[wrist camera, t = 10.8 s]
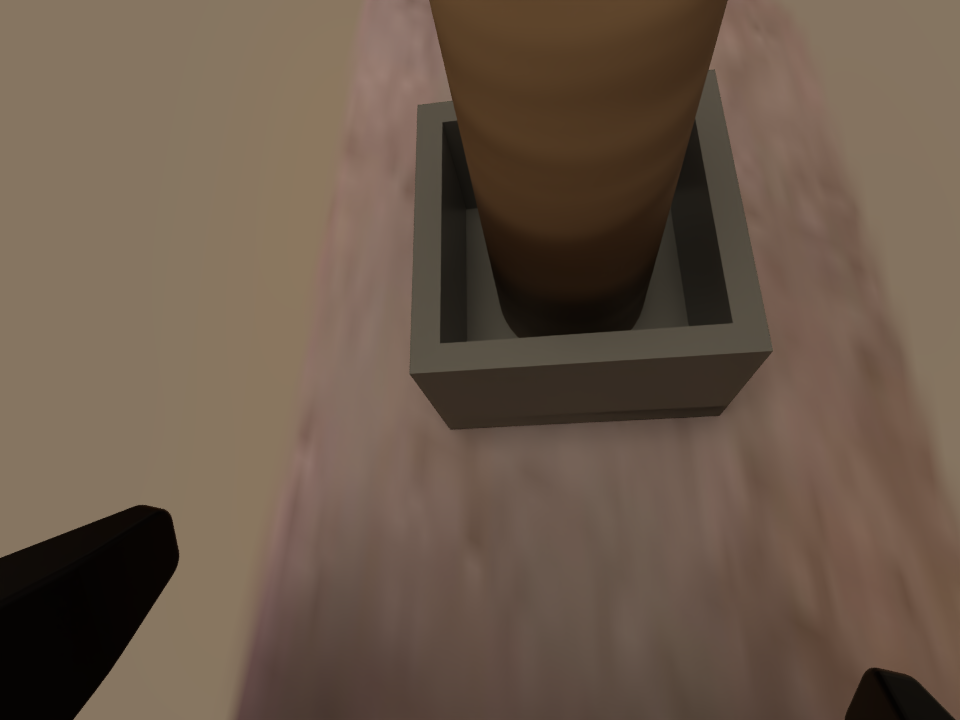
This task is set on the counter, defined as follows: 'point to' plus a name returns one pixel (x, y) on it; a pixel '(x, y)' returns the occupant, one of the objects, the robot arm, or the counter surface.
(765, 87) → the counter surface
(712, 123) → the socket cup
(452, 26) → the walnut peg
